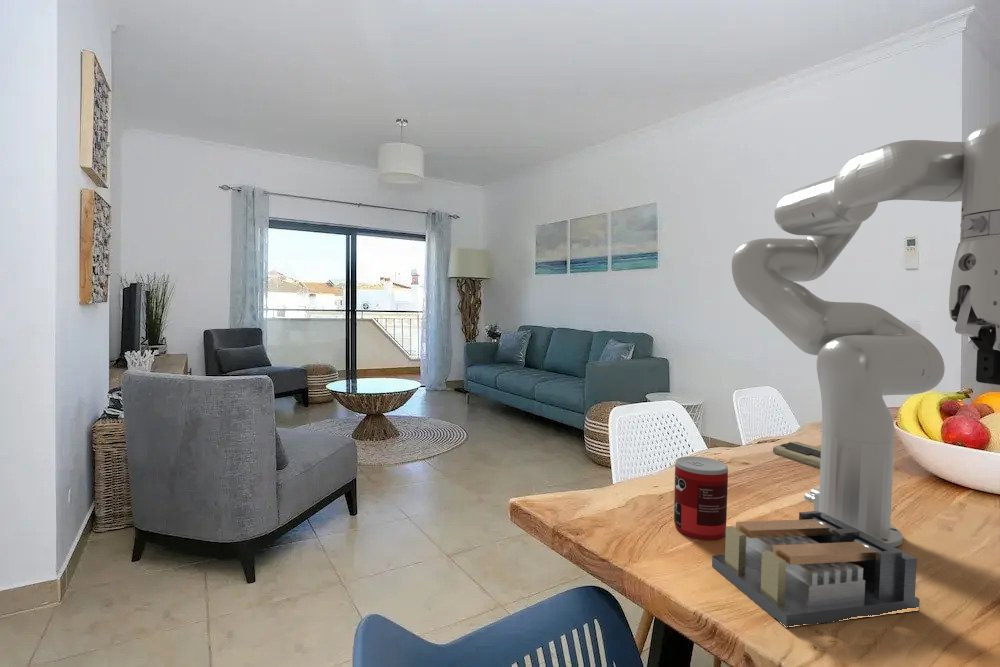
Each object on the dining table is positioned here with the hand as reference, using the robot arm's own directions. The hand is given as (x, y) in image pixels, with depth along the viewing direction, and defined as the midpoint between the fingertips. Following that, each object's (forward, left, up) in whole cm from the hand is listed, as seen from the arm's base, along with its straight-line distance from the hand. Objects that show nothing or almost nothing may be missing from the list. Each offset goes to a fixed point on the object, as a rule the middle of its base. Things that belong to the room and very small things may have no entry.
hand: (995, 383), depth 62 cm
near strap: (-3, -19, -21) cm, 29 cm away
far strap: (-10, -19, -21) cm, 31 cm away
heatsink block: (-7, -19, -27) cm, 34 cm away
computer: (-54, +25, -28) cm, 66 cm away
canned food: (-25, -23, -27) cm, 43 cm away
